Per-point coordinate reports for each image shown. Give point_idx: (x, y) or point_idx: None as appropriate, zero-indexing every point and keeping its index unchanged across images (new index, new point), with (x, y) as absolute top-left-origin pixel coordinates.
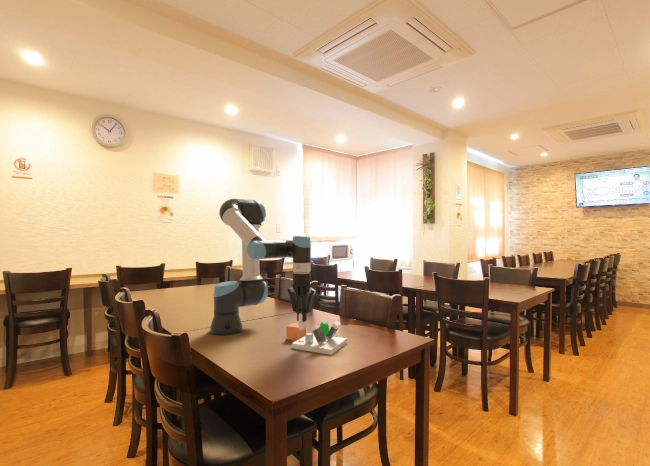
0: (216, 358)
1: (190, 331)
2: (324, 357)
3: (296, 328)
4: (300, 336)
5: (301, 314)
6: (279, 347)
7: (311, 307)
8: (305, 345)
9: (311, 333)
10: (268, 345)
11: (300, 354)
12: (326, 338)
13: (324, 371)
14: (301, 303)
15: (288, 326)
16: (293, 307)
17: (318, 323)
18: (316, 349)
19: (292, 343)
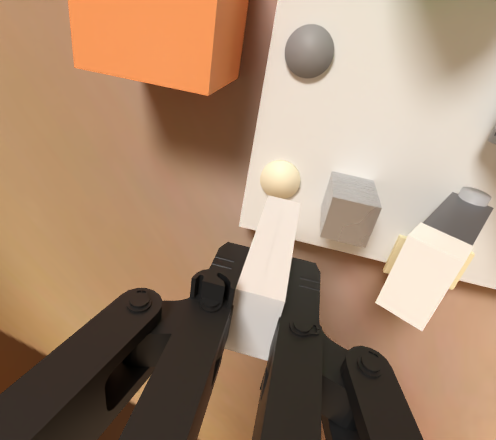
0: (42, 341)
1: None
2: (459, 307)
3: (185, 87)
4: (234, 53)
5: (263, 356)
6: (176, 211)
7: (415, 435)
8: (333, 248)
9: (365, 206)
10: (107, 193)
11: (321, 284)
12: (494, 141)
13: (462, 418)
14: (189, 433)
15: (97, 71)
16: (112, 391)
17: (464, 261)
18: None
19: (243, 227)
